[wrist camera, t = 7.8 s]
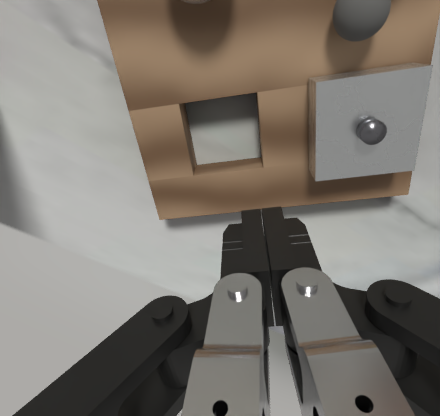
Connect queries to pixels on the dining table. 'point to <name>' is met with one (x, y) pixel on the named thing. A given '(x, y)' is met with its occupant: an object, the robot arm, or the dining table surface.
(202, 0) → the steel ball
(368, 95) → the steel cover
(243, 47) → the walnut board
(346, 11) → the black rubber ball
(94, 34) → the dining table surface
